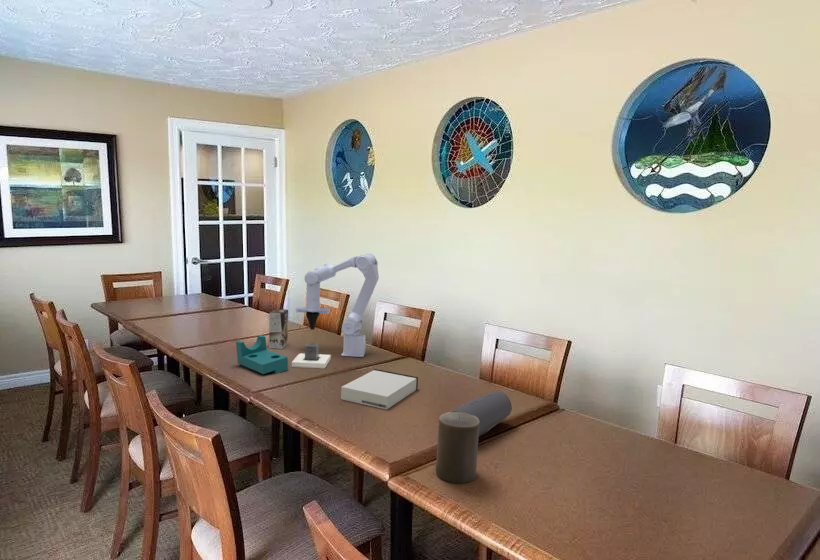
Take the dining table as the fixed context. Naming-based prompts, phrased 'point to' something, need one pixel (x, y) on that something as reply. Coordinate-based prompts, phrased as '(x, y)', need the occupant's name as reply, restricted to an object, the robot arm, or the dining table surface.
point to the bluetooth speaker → (488, 409)
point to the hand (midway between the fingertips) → (312, 329)
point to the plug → (312, 352)
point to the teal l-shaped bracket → (260, 357)
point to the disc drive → (379, 388)
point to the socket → (303, 363)
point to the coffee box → (278, 328)
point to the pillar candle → (457, 447)
